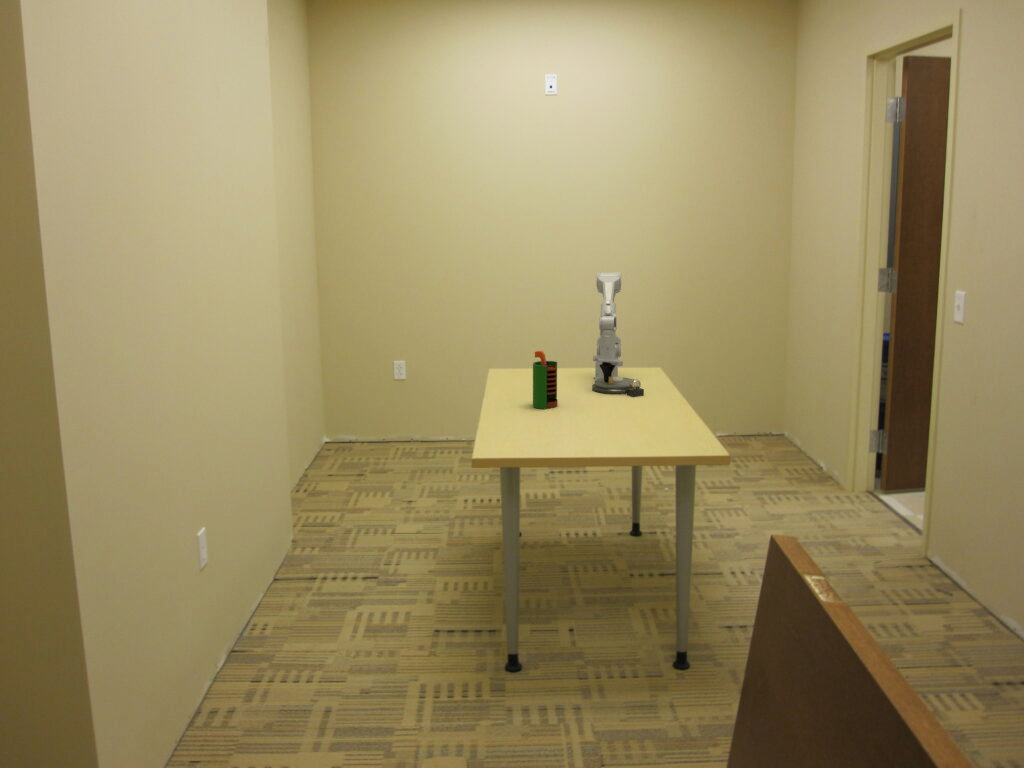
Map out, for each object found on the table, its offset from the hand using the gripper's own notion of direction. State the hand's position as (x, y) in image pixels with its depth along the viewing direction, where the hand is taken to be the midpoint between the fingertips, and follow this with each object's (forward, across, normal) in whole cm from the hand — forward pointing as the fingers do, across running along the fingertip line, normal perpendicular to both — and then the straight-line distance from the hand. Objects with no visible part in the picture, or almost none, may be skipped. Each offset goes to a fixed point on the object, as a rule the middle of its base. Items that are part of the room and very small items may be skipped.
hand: (607, 382), depth 344 cm
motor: (+4, +2, -32) cm, 33 cm away
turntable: (+2, -2, +6) cm, 6 cm away
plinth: (+4, -2, +6) cm, 7 cm away
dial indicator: (+4, +11, +4) cm, 12 cm away
